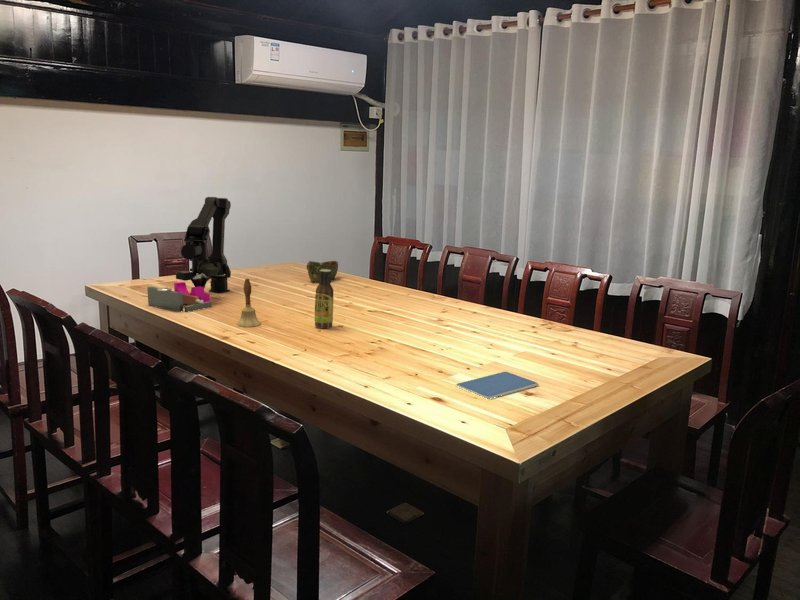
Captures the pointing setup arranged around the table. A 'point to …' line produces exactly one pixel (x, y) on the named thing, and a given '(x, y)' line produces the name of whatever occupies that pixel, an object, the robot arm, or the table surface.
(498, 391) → the blue notebook
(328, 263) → the dark green lobed piece
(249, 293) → the hand bell
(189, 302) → the gauge plunger
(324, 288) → the sauce bottle
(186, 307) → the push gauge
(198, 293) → the toy block
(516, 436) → the table surface
